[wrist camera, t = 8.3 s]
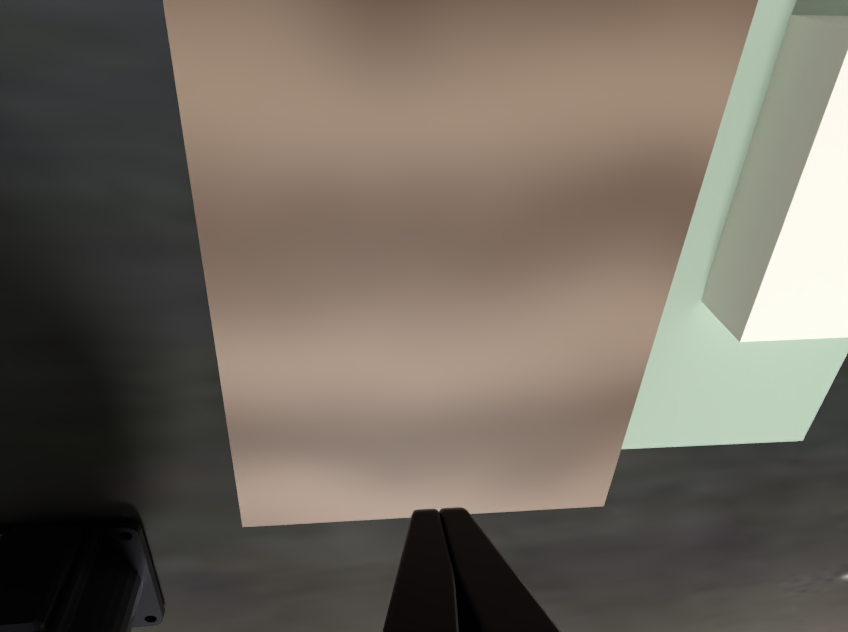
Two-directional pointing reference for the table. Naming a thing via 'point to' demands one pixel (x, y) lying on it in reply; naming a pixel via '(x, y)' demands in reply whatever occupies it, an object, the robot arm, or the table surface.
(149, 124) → the table surface
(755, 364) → the mat
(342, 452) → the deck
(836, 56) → the tile
